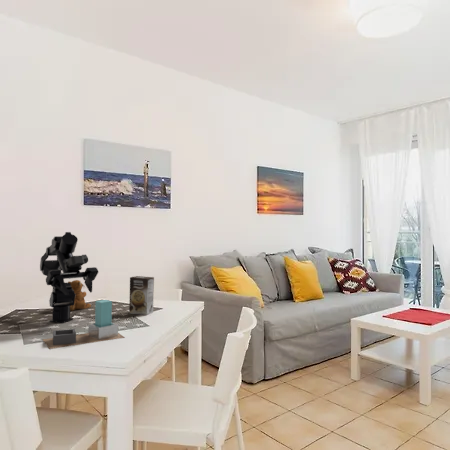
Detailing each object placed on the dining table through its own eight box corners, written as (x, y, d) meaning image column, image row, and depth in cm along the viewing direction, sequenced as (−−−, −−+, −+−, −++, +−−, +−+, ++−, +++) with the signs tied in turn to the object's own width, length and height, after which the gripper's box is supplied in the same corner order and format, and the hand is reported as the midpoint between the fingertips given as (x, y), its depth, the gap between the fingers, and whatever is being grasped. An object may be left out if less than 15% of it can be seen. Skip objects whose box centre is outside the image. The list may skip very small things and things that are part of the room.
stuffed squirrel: (92, 307, 187) (92, 279, 187) (72, 313, 174) (72, 283, 174) (75, 305, 190) (75, 278, 190) (54, 311, 177) (54, 282, 177)
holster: (52, 339, 131) (53, 330, 131) (74, 337, 134) (74, 328, 134) (53, 345, 125) (53, 335, 125) (75, 343, 128) (76, 333, 128)
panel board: (49, 351, 121) (49, 349, 121) (42, 341, 131) (42, 339, 131) (124, 339, 135) (124, 337, 135) (113, 331, 145) (113, 329, 145)
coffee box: (128, 313, 174) (129, 277, 174) (136, 310, 180) (136, 275, 180) (147, 315, 171) (147, 278, 171) (153, 312, 177) (154, 276, 178)
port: (88, 335, 136) (88, 324, 136) (107, 331, 142) (107, 320, 142) (98, 339, 131) (98, 327, 131) (117, 335, 137) (118, 324, 137)
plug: (94, 335, 136) (95, 301, 136) (105, 333, 139) (106, 299, 139) (100, 338, 133) (101, 302, 133) (111, 335, 137) (112, 301, 137)
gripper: (49, 248, 144) (61, 282, 136) (96, 247, 157) (110, 277, 150) (40, 268, 149) (52, 301, 142) (86, 265, 163) (99, 295, 155)
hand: (79, 293), depth 147 cm, fingers open, 9 cm apart
